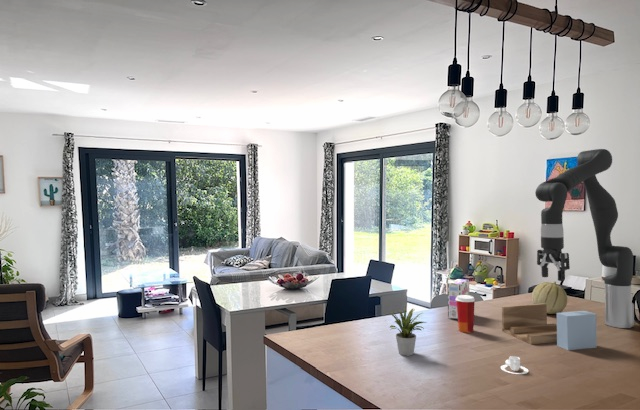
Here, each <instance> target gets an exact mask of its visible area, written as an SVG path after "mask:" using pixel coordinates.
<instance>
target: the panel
mask: <svg viewBox="0 0 640 410" xmlns="http://www.w3.org/2000/svg"><path fill="white" fill-rule="evenodd" d="M556 324H557V342H556V346H557V347H559V348H562V349H564V350H567V351H574V350H584V349H585V350H586V349H594V348H595V349H596V348H598V347H597V344H598V343H597V342H598V341H597V340H598V339H597V338H598V337H597V313H594V312H590V311H587V310H576V311H574V310H573V311H564V312H563V311H561V312H559V313H556Z"/></svg>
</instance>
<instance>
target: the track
mask: <svg viewBox="0 0 640 410" xmlns="http://www.w3.org/2000/svg"><path fill="white" fill-rule="evenodd" d="M547 314H548V313H547V304H545V303H544V304H519V305H518V304H517V305H516V304H515V305H502V306H501V322H502V323H501V326H502V327H501V328H502V329H501V330H502V332H503V331H504V333H506V334H508V335H510V336H512V337H514V338H517V339H518V340H521V341H523V342H525V343H527V344H530V345H539V344H546V343H547V344H548V343H550V344H551V343H557V323H548V318H547V317H548V315H547Z"/></svg>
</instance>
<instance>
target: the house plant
mask: <svg viewBox="0 0 640 410" xmlns="http://www.w3.org/2000/svg"><path fill="white" fill-rule="evenodd" d="M406 306H407V305H405V307H404V311H403V312H402V311H401V310H400V309H398V313H399V317H400V318H398V316H397V315H396V314H395V312H394V311H390V312H388V314H389V315H390V316H392V317H393V318H394V319H395V320H394V323H395V324H397V325H398V327H399V328H398V327H397V326H396V325H393V324H391V325H390V326H388V327H389V329H390V330H398V331H399V332H398V333H395V337H396V338H395V339H396V343H397V344H396V345H397V351H398V354H400V355H402V356H412V355H414V354H415V347H416V340H417V335H416V334H415V333H413V332H414V331H417V330H418V331H421V332H423V330H425V328H424V327H423V326H421V325H420V324H425V323H428V322H427V321H426V322H425V321H416V320H417V319H418V318H419V317H420V315H422V314H423V312H421V313H419V314H417V315H416V316H415V317H413V318H412V316H413V313H414V311H415V310H416V309H415V308H411V309H410V310H409V312H408V314H407V310H406V309H407V307H406ZM419 325H420V326H419ZM422 329H423V330H422Z"/></svg>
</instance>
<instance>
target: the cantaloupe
mask: <svg viewBox="0 0 640 410" xmlns="http://www.w3.org/2000/svg"><path fill="white" fill-rule="evenodd" d="M531 300H532V303H533V304H544V303H545V304H547V314H549V315H553V314H554V315H555V314H556V315H557V313H561V312H563V310H565V308H566V307H567V304H568V295H567V292H566V291H565V289H564V288H563V287H562V286H560V285H559V284H557V282H556V281H554V282H550V281H543V282H541V283H539V284H537V285H535V287H534V288H533V290H532V294H531Z"/></svg>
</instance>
